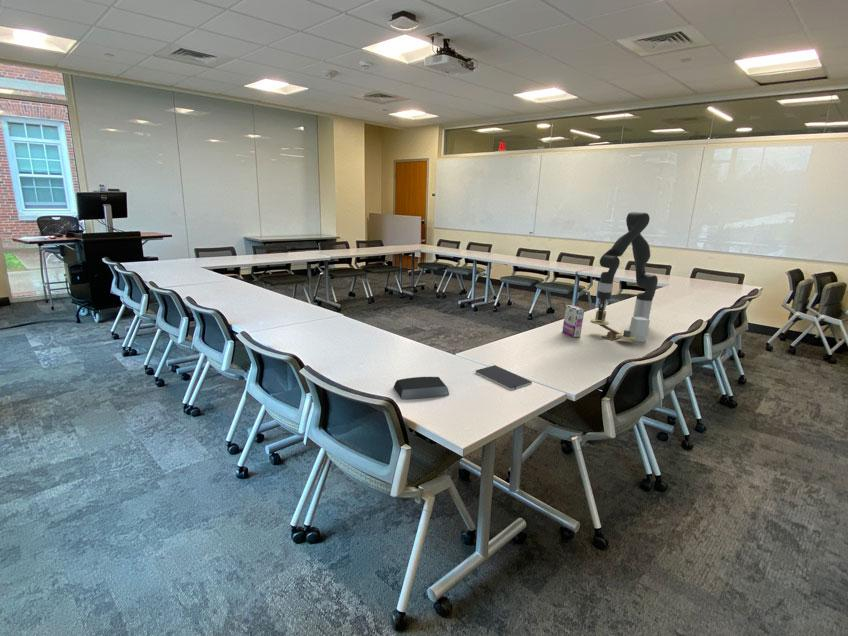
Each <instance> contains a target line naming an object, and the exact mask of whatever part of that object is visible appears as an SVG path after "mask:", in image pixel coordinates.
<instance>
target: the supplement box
mask: <svg viewBox="0 0 848 636" xmlns="http://www.w3.org/2000/svg"><path fill="white" fill-rule="evenodd" d="M649 326H650V319H649V320H648V319H646V318H644V317H633V316H631V319H630V325H629V331H631V335H634V336H636V339H635V340H632V341H633V342H644V343H645V342H647V338H648V331H649V329H650V328H649Z"/></svg>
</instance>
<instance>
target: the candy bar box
mask: <svg viewBox="0 0 848 636" xmlns="http://www.w3.org/2000/svg"><path fill="white" fill-rule="evenodd" d="M564 311H565V312H564V317H563V318H564V320H563V324H562V330H561V331H562V333H564V334H566V335H568V336H569V337H572V338H581V334H582V329H583V328H582V327H583V321H584V315H585V309H583V308H582V307H579V306H577V305H573V304H567V305H566V306H565V310H564Z"/></svg>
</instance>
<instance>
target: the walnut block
mask: <svg viewBox="0 0 848 636" xmlns="http://www.w3.org/2000/svg"><path fill="white" fill-rule="evenodd" d="M598 310H599V309H597V310H596V313H595V318H594V319H595V320H598ZM600 311H602V310H600ZM606 316H607V310H605V311H603V316H602V320H599V321H606Z"/></svg>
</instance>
